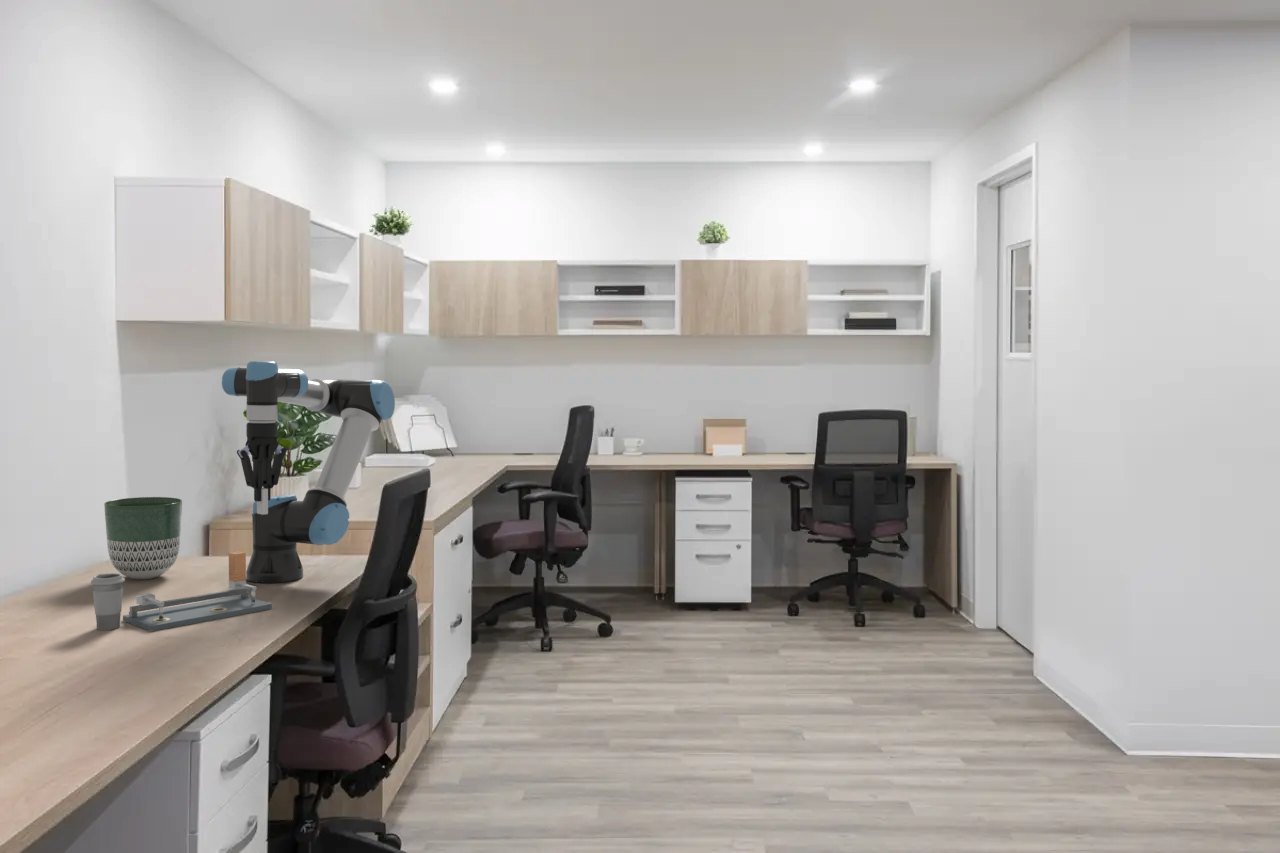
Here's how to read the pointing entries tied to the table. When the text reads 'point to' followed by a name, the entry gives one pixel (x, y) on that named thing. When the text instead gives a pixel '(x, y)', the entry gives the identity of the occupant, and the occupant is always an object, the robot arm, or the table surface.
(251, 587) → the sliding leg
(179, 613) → the gauge board
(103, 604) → the cup
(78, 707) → the table surface
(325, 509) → the robot arm
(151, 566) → the planter
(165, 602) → the rail
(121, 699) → the table surface
